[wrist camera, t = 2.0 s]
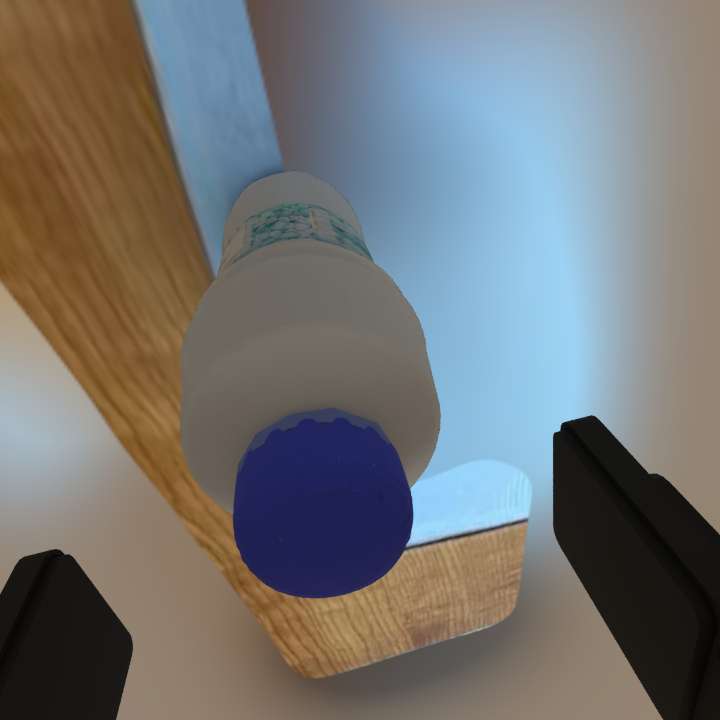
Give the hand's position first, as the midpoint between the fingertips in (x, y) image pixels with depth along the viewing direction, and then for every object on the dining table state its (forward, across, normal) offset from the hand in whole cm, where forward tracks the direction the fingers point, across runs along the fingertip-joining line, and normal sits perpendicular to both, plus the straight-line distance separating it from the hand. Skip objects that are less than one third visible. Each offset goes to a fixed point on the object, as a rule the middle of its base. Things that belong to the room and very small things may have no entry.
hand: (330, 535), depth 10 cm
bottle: (+19, 0, -1) cm, 19 cm away
